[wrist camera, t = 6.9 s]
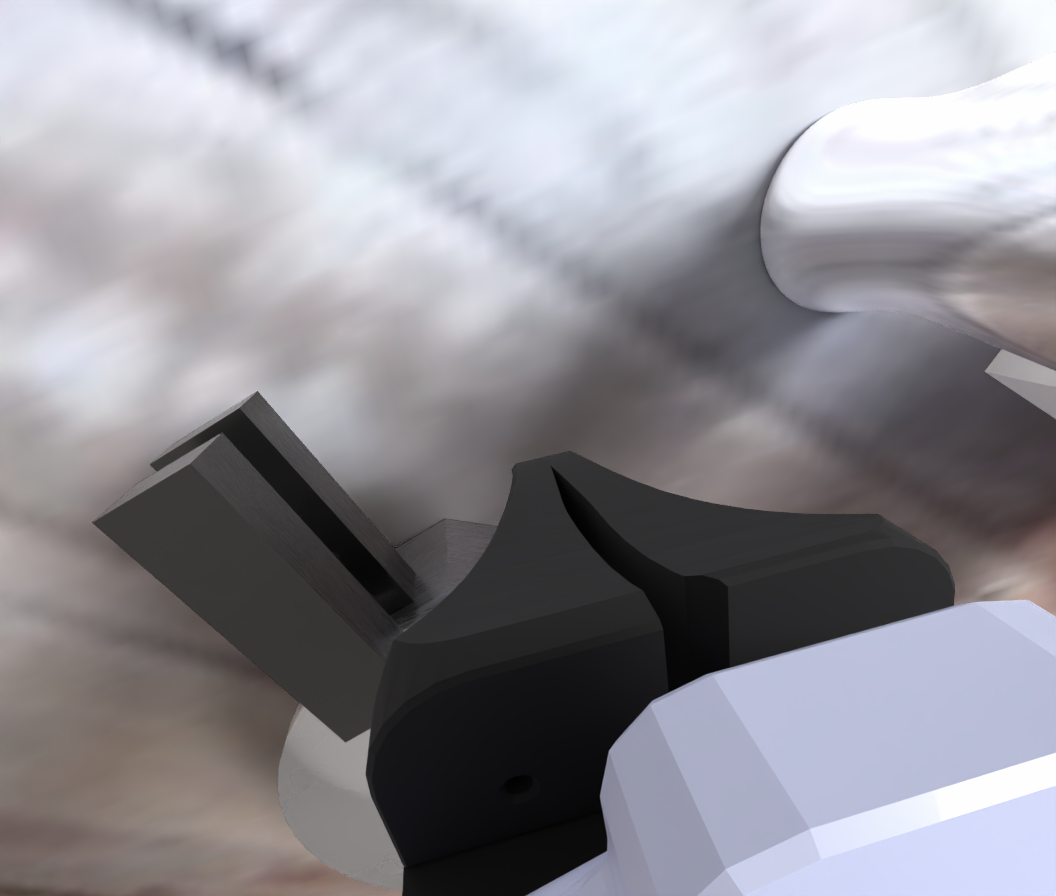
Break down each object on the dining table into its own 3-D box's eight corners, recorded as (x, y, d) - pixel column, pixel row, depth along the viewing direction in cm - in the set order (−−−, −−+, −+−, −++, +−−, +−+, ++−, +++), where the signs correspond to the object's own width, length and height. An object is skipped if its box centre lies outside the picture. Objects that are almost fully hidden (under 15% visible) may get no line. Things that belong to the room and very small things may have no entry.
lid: (710, 759, 19) (746, 825, 17) (428, 910, 20) (428, 993, 18) (427, 303, 11) (427, 320, 9) (-28, 578, 12) (-128, 654, 10)
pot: (678, 697, 24) (722, 780, 20) (459, 819, 25) (464, 921, 21) (412, 286, 15) (407, 304, 12) (81, 494, 16) (-22, 573, 12)
